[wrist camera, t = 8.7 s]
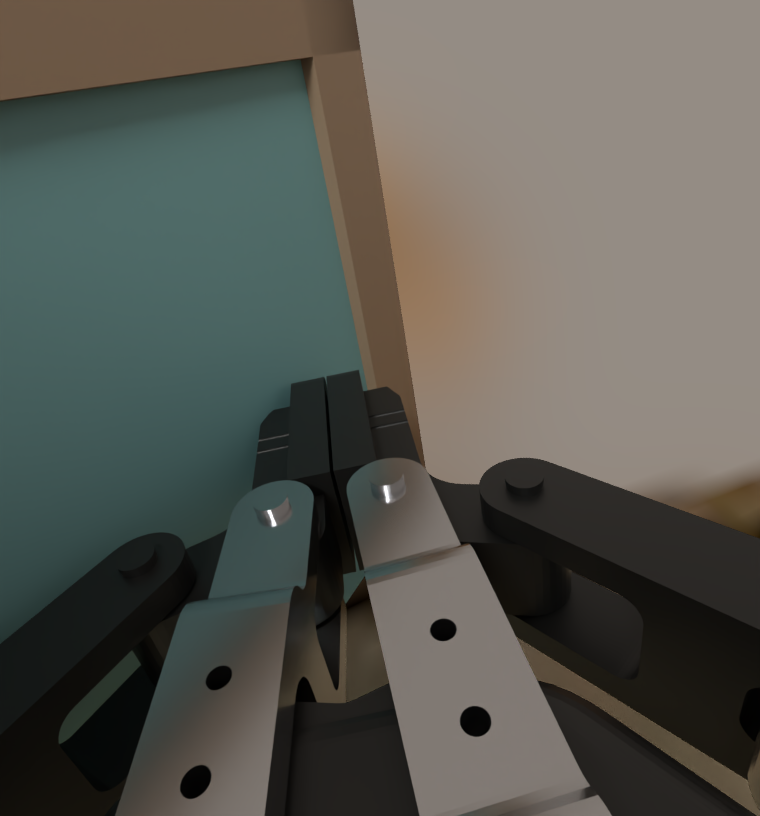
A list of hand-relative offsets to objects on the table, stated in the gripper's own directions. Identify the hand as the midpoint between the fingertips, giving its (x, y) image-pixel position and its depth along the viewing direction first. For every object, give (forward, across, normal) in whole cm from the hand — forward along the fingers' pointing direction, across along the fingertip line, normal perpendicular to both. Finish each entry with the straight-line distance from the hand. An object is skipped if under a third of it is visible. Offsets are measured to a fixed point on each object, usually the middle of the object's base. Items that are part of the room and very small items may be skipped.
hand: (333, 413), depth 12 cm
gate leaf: (-4, +4, +6) cm, 8 cm away
